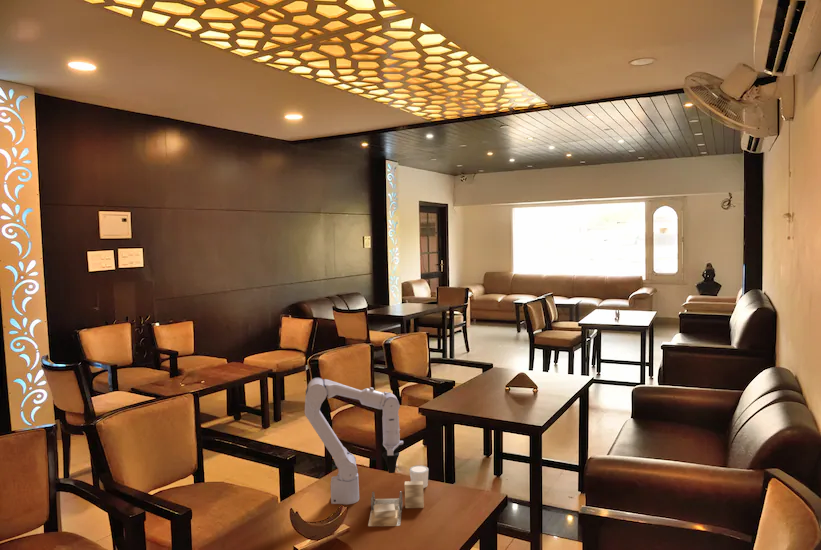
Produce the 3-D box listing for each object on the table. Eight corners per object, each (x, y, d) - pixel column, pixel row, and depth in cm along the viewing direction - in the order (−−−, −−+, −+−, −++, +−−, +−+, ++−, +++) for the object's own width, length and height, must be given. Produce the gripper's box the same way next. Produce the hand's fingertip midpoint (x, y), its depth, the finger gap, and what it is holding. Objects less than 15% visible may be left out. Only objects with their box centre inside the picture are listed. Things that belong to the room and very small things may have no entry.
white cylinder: (429, 483, 201) (429, 465, 201) (428, 492, 194) (427, 473, 194) (410, 483, 202) (410, 464, 202) (409, 492, 195) (408, 472, 195)
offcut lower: (371, 524, 172) (371, 518, 172) (372, 516, 177) (372, 510, 177) (397, 524, 171) (396, 517, 171) (398, 516, 176) (397, 509, 176)
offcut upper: (375, 518, 171) (374, 512, 171) (373, 511, 176) (373, 505, 176) (395, 516, 172) (395, 510, 172) (394, 509, 177) (393, 503, 176)
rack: (367, 529, 171) (367, 513, 170) (373, 504, 187) (372, 490, 186) (400, 528, 170) (399, 513, 170) (402, 504, 186) (402, 489, 186)
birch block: (405, 510, 182) (404, 484, 181) (405, 506, 184) (404, 481, 184) (423, 509, 181) (422, 484, 181) (423, 506, 184) (422, 481, 183)
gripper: (401, 436, 183) (403, 476, 184) (403, 422, 197) (404, 459, 198) (380, 437, 183) (381, 477, 184) (383, 422, 197) (385, 459, 198)
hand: (392, 467), depth 191 cm, fingers open, 7 cm apart
